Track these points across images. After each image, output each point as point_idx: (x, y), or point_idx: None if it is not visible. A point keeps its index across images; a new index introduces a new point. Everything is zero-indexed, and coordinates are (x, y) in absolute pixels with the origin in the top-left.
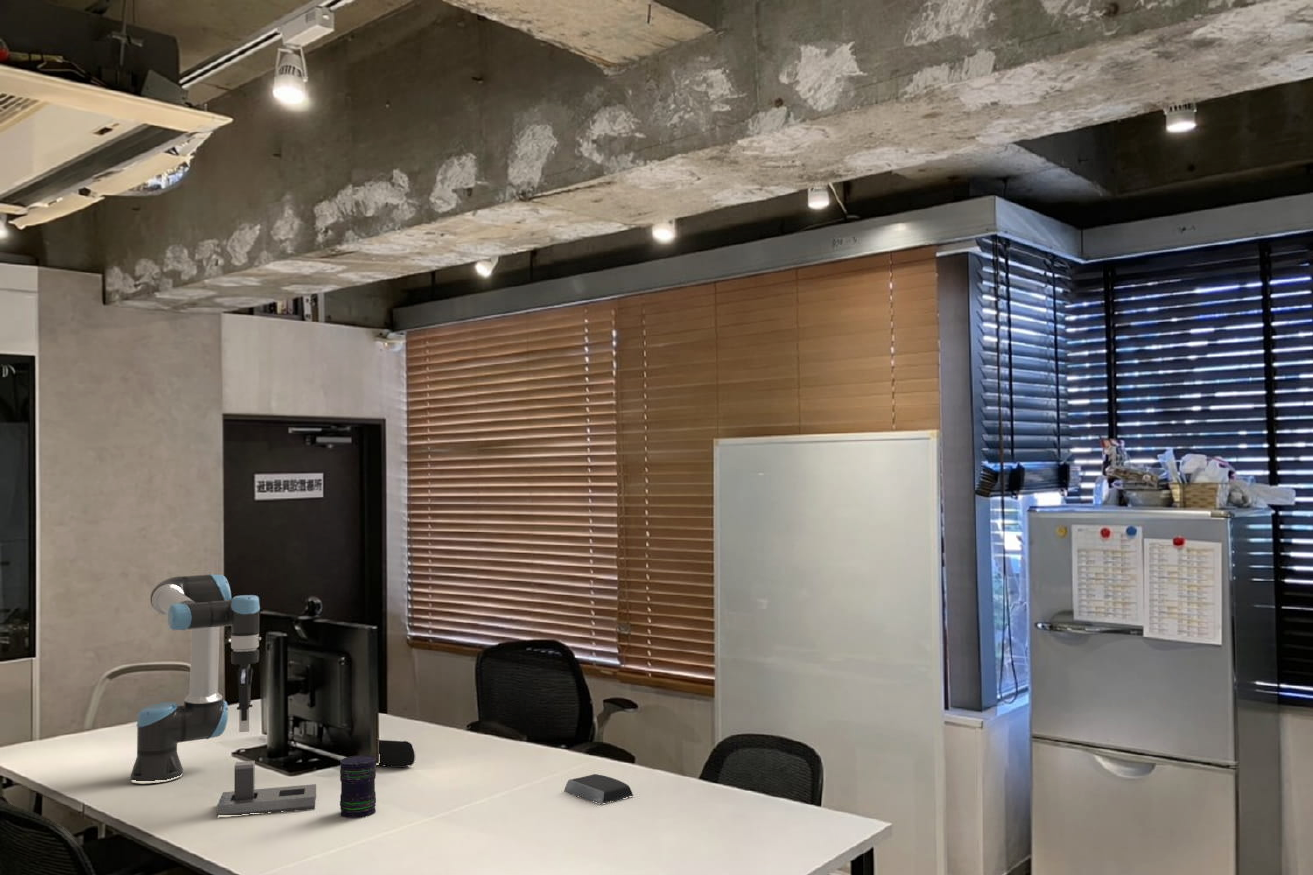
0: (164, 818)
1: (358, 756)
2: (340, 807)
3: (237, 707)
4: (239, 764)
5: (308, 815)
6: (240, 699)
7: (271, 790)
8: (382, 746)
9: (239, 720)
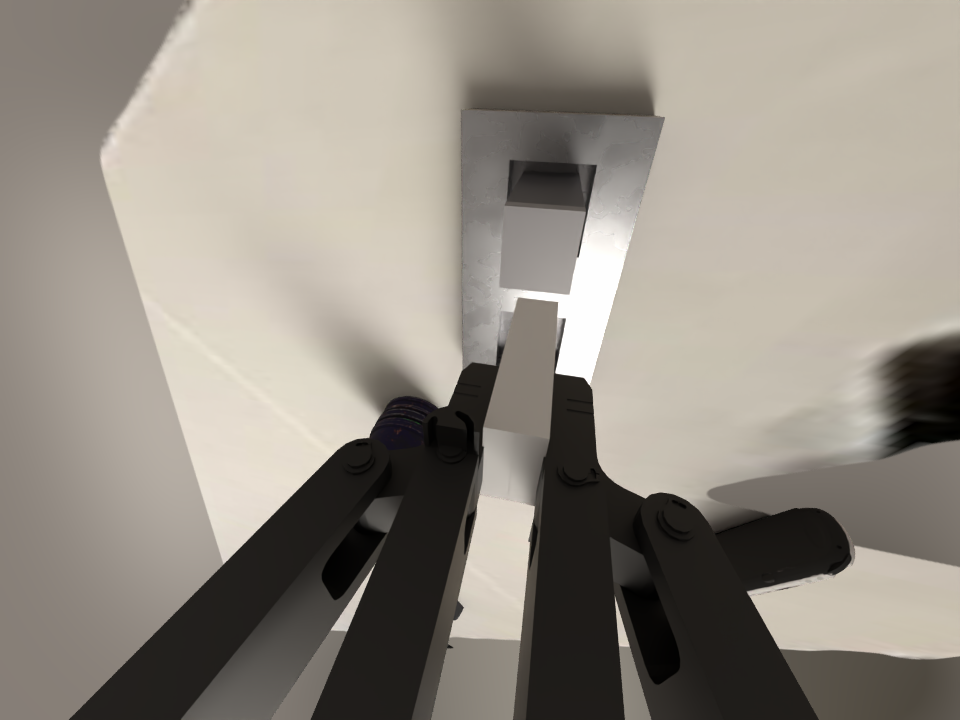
0: None
1: None
2: (409, 406)
3: (462, 431)
4: (523, 228)
5: (424, 348)
6: (244, 564)
7: (581, 296)
8: (774, 564)
9: (504, 349)
